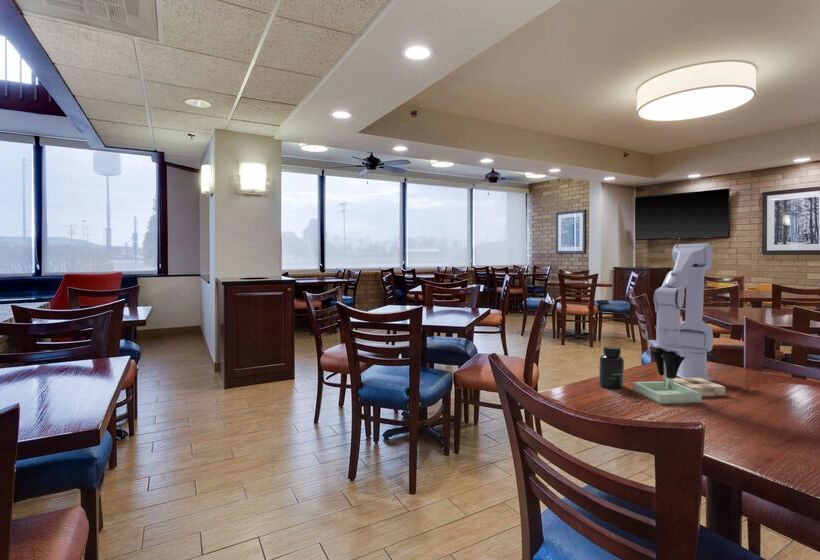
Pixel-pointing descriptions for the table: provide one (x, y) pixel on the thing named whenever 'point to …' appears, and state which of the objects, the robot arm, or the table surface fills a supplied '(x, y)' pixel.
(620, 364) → the supplement bottle
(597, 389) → the table surface
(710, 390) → the birch block
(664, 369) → the steel pin
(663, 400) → the green tray
